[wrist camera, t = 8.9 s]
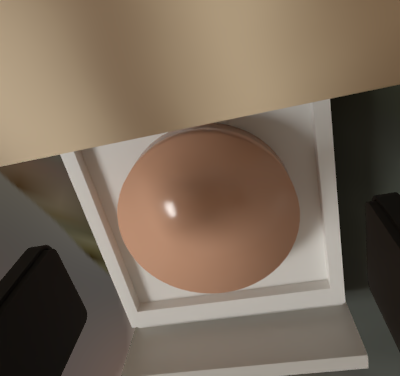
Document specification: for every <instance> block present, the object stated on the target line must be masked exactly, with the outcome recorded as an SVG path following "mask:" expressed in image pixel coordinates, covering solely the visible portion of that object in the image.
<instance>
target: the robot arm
mask: <svg viewBox="0 0 400 376" xmlns="http://www.w3.org/2000/svg"><path fill="white" fill-rule="evenodd" d="M366 241H367V276H368V284H369V287H370V290H371V293H372V295H373V297H374V299H375V301H376V303H377V305H378V307H379V309H380V311H381V314H382V316H383V318H384V320H385V322H386V324H387V326H388V328H389V330H390V332H391V335H392V337H393V339H394V341H395V343H396V345H397V347H398V349H399V351H400V195H399V194H398V193H397V192H394V193H388V194H381V195H374V196H373V198H372V201H370V202H366ZM86 320H87V311H86V309H85V306H84V304H83V303H82V301H81V298H80V296H79V295H78V292H77V290H76V289H75V287H74V285H73V283H72V281H71V279H70V277H69V275H68V273H67V271H66V269H65V267H64V265H63V263H62V261H61V259H60V257H59V255H58V253H57V251H56V250H55V249H52V248H51V247H50V246H48V245H44V246H38V247H31V248H28V249H27V250H26V251H25V252H24V254H23V255H22V256H21V257H20V258H19V259H18V261H17V262H16V263H15V264H14V265H13V267H12V268H11V269H10V270H9V271H8V273H7V274H6V275H5V276H4V277H3V279H2V280H1V281H0V376H61V375H62V372H63V370H64V368H65V366H66V364H67V362H68V359H69V357H70V355H71V353H72V351H73V349H74V346H75V344H76V342H77V340H78V338H79V336H80V333H81V331H82V329H83V327H84V325H85V323H86Z"/></svg>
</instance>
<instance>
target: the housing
mask: <svg viewBox="0 0 400 376" xmlns="http://www.w3.org/2000/svg"><path fill="white" fill-rule="evenodd" d="M399 84H400V0H0V167H1V166H6V165H10V164H15V163H20V162H25V161H30V160H35V159H40V158H44V157H49V156H54V155H59V154H64V153H69V152H74V151H78V150H83V149H88V148H93V147H98V146H103V145H108V144H112V143H117V142H122V141H127V140H132V139H137V138H142V137H146V136H151V135H156V134H161V133H166V132H171V131H176V130H180V129H185V128H190V127H195V126H200V125H205V124H210V123H214V122H219V121H224V120H229V119H234V118H239V117H244V116H248V115H253V114H258V113H263V112H268V111H273V110H278V109H283V108H287V107H292V106H297V105H302V104H307V103H312V102H317V101H321V100H326V99H331V98H336V97H341V96H346V95H351V94H355V93H360V92H365V91H370V90H375V89H380V88H385V87H389V86H394V85H399Z"/></svg>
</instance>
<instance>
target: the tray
mask: <svg viewBox="0 0 400 376" xmlns="http://www.w3.org/2000/svg"><path fill="white" fill-rule="evenodd" d="M214 123H219V124H226V125H230V126H234V127H237V128H240V129H242V130H245V131H247V132H250V133H251V134H253V135H255V136H256V137H258V138H260V139H261V140H262V141H263V142H265V143H266V144H267V145H268V146H269V147H270V148H271V149H272V150H273V151H274V152H275V153H276V154H277V155H278V157H279V158H280V160H281V161H282V162H283V164H284V166H285V168H286V170H287V172H288V174H289V177H290V179H291V181H292V184H293V186H294V188H295V191H296V194H297V197H298V202H299V207H300V223H299V230H298V234H297V237H296V241H295V243H294V245H293V247H292V249H291V251H290V252H289V254H288V256H287V257H286V259H285V260H284V261H283V262H282V263H281V264H280V266H279V267H278V268H276V269H275V270H274V271H273V272H272V273H271V274H269V275H268V276H267V277H265V278H264V279H262V280H260V281H258V282H257V283H255V284H253V285H250V286H248V287H245V288H242V289H239V290H235V291H231V292H225V293H213V294H212V293H197V292H190V291H186V290H182V289H179V288H176V287H173V286H170V285H168V284H166V283H164V282H162V281H160V280H159V279H157V278H155V277H154V276H152V275H151V274H150V273H148V272H147V271H146V270H145V269H144V268H143V267H142V266H141V265H139V264H138V263H137V261H136V260H135V259H134V258H133V256H132V255H131V254H130V252H129V250H128V249H127V247H126V245H125V243H124V241H123V239H122V236H121V233H120V229H119V226H118V218H117V206H118V200H119V194H120V192H121V189H122V186H123V183H124V182H125V180H126V178H127V176H128V174H129V172H130V171H131V169H132V168H133V166H134V164H135V163H136V161H137V159H138V158H139V157H140V155H141V154H142V153H143V151H144V150H145V149H146V148H147V147H148V146H149V145H150V144H151V143H152V142H154V141H155V140H156V139H158V138H159V137H161V136H162V135H164V134H166V133H168V132H166V133H161V134H156V135H151V136H146V137H142V138H137V139H132V140H127V141H122V142H117V143H112V144H108V145H103V146H98V147H93V148H88V149H83V150H78V151H74V152H69V153H64V154H60V155H61V158H62V160H63V162H64V165H65V167H66V170H67V172H68V174H69V177H70V179H71V182H72V184H73V186H74V189H75V191H76V194H77V196H78V199H79V201H80V203H81V206H82V208H83V211H84V213H85V215H86V218H87V220H88V223H89V225H90V227H91V230H92V232H93V235H94V237H95V239H96V242H97V244H98V247H99V249H100V252H101V254H102V256H103V259H104V261H105V264H106V266H107V268H108V271H109V273H110V276H111V278H112V280H113V283H114V285H115V288H116V290H117V292H118V295H119V297H120V300H121V302H122V305H123V307H124V309H125V312H126V314H127V317H128V319H129V321H130V324H131V326H132V327H133V328H134V327H136V328H135V331H134V335H133V338H132V341H131V345H130V348H129V352H128V355H127V358H126V362H125V365H124V369H123V372H122V375H121V376H283V375H295V374H306V373H318V372H329V371H341V370H352V369H364V368H368V354H367V352H366V350H365V347H364V345H363V342H362V340H361V337H360V335H359V333H358V330H357V328H356V325H355V323H354V320H353V318H352V316H351V313H350V311H349V308H348V306H347V304H346V301H345V290H344V277H343V264H342V250H341V237H340V224H339V211H338V198H337V185H336V171H335V158H334V145H333V132H332V119H331V105H330V99H326V100H321V101H317V102H312V103H307V104H302V105H297V106H292V107H287V108H283V109H278V110H273V111H268V112H263V113H258V114H253V115H248V116H244V117H239V118H234V119H229V120H224V121H219V122H214Z"/></svg>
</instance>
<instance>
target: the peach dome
mask: <svg viewBox="0 0 400 376" xmlns="http://www.w3.org/2000/svg"><path fill="white" fill-rule="evenodd" d="M117 218H118V226H119V229H120V233H121V236H122V239H123V241H124V243H125V245H126V247H127V249H128V250H129V252H130V254H131V255H132V256H133V258H134V259H135V260H136V261H137V263H138V264H139V265H141V266H142V267H143V268H144V269H145V270H146V271H147V272H148V273H150V274H151V275H152V276H154V277H155V278H157V279H159V280H160V281H162V282H164V283H166V284H168V285H170V286H173V287H176V288H179V289H182V290H186V291H190V292H197V293H212V294H213V293H225V292H231V291H235V290H239V289H242V288H245V287H248V286H250V285H253V284H255V283H257V282H258V281H260V280H262V279H264V278H265V277H267V276H268V275H269V274H271V273H272V272H273V271H274V270H275V269H276V268H278V267H279V266H280V264H281V263H282V262H283V261H284V260H285V259H286V257H287V256H288V254H289V252H290V251H291V249H292V247H293V245H294V243H295V241H296V237H297V234H298V230H299V223H300V207H299V202H298V197H297V194H296V191H295V188H294V186H293V184H292V181H291V179H290V177H289V174H288V172H287V170H286V168H285V166H284V164H283V162H282V161H281V160H280V158H279V157H278V155H277V154H276V153H275V152H274V151H273V150H272V149H271V148H270V147H269V146H268V145H267V144H266V143H265V142H263V141H262V140H261V139H260V138H258V137H256V136H255V135H253V134H251V133H250V132H247V131H245V130H242V129H240V128H237V127H234V126H230V125H226V124H219V123H210V124H205V125H200V126H195V127H190V128H185V129H180V130H176V131H171V132H168V133H166V134H164V135H162V136H161V137H159V138H158V139H156V140H155V141H154V142H152V143H151V144H150V145H149V146H148V147H147V148H146V149H145V150H144V151H143V153H142V154H141V155H140V157H139V158H138V159H137V161H136V163H135V164H134V166H133V168H132V169H131V171H130V172H129V174H128V176H127V178H126V180H125V182H124V183H123V186H122V189H121V192H120V194H119V200H118V206H117Z"/></svg>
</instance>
